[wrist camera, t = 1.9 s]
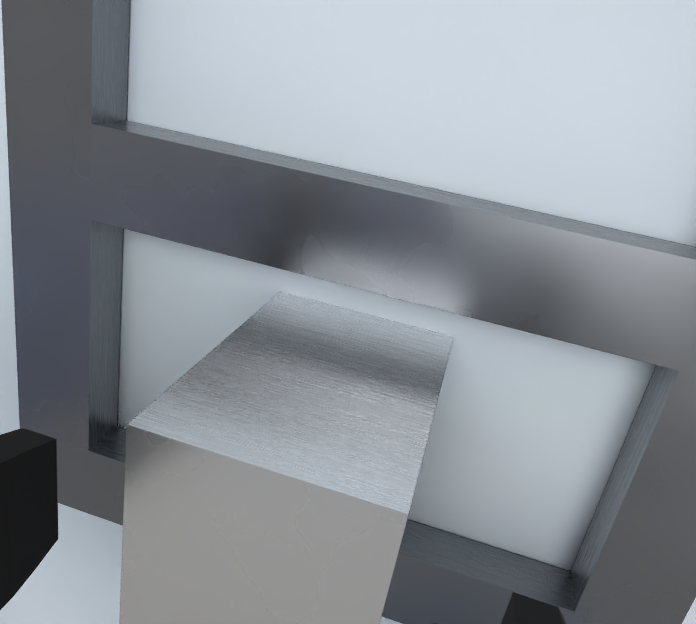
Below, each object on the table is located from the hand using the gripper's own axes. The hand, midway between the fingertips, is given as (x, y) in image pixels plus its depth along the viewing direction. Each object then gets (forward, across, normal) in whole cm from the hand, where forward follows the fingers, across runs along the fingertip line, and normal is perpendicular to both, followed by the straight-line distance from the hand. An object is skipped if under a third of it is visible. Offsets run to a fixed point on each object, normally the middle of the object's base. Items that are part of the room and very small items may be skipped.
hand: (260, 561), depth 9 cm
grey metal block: (+6, 0, 0) cm, 6 cm away
